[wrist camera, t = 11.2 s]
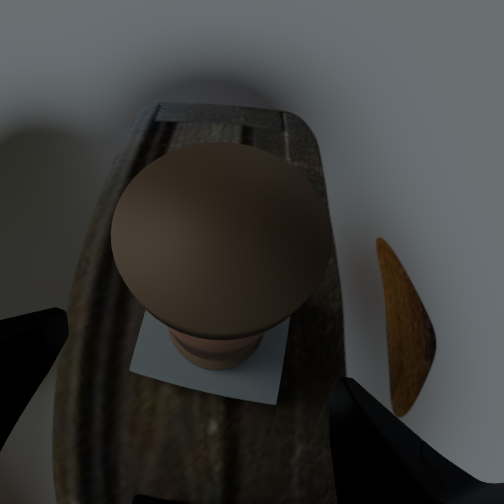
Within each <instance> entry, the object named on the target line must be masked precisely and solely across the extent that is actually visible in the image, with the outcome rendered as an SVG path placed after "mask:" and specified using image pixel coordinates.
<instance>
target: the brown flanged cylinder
mask: <svg viewBox="0 0 504 504" xmlns="http://www.w3.org/2000/svg"><path fill="white" fill-rule="evenodd" d="M111 243H112V250H113V255H114V260H115V262H116V265H117V268H118V270H119V273H120V274H121V276H122V278H123V280H124V281H125V283H126V285H127V286H128V288H129V289H130V290H131V292H132V293H133V295H134V296H135V297H136V299H137V300H138V301H139V302H140V304H141V305H142V306H143V307H144V308H145V309H146V310H147V311H148V312H149V313H150V314H151V315H152V316H153V317H155V318H156V319H157V320H159V321H160V322H162V323H163V324H165V325H166V326H167V327H168V331H169V335H170V338H171V340H172V342H173V344H174V346H175V347H176V349H177V350H178V352H179V353H180V354H181V355H182V356H183V357H184V358H185V359H186V360H188V361H189V362H190V363H192V364H194V365H196V366H198V367H200V368H203V369H207V370H227V369H231V368H233V367H236V366H238V365H240V364H242V363H243V362H245V361H246V360H247V359H248V358H249V357H250V356H251V355H252V354H253V353H254V352H255V351H256V350H257V348H258V347H259V345H260V343H261V341H262V338H263V335H264V333H265V332H266V331H267V330H270V329H272V328H273V327H275V326H277V325H278V324H280V323H282V322H283V321H284V320H286V319H287V318H288V317H289V316H291V315H292V314H293V313H294V312H295V311H296V310H297V309H298V308H299V307H300V306H301V305H302V304H303V303H304V302H305V301H306V299H307V298H308V297H309V296H310V295H311V294H312V293H313V292H314V290H315V289H316V287H317V286H318V284H319V283H320V281H321V280H322V278H323V275H324V273H325V271H326V269H327V266H328V263H329V259H330V255H331V247H332V230H331V225H330V219H329V216H328V213H327V210H326V207H325V205H324V203H323V201H322V199H321V197H320V195H319V194H318V192H317V191H316V189H315V188H314V186H313V185H312V184H311V183H310V182H309V181H308V179H307V178H306V177H305V176H304V175H303V174H302V173H300V172H299V171H298V170H297V169H296V168H294V167H293V166H292V165H290V164H289V163H288V162H286V161H284V160H283V159H281V158H279V157H278V156H275V155H273V154H271V153H269V152H267V151H264V150H261V149H258V148H255V147H251V146H247V145H243V144H236V143H225V142H213V143H202V144H195V145H191V146H187V147H183V148H180V149H178V150H175V151H172V152H170V153H168V154H166V155H164V156H162V157H160V158H158V159H157V160H155V161H153V162H152V163H150V164H149V165H148V166H147V167H145V168H144V169H143V170H142V171H141V172H140V173H139V174H138V175H137V176H136V177H134V179H133V180H132V181H131V182H130V184H129V185H128V186H127V187H126V189H125V191H124V192H123V194H122V196H121V197H120V200H119V202H118V204H117V207H116V209H115V213H114V217H113V221H112V229H111Z"/></svg>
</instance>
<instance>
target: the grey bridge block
mask: <svg viewBox="0 0 504 504" xmlns="http://www.w3.org/2000/svg"><path fill="white" fill-rule="evenodd" d="M289 322H290V316H289V317H288V318H287V319H286V320H284V321H283V322H282V323H280V324H278V325H277V326H275V327H273V328H272V329H270V330H267V331H266V332H265V333H264V335H263V338H262V341H261V343H260V345H259V347H258V348H257V350H256V351H255V352H254V353H253V354H252V355H251V356H250V357H249V358H248V359H247V360H246V361H245V362H243V363H242V364H240V365H238V366H236V367H233V368H231V369H227V370H207V369H203V368H200V367H198V366H196V365H194V364H192V363H190V362H189V361H188V360H186V359H185V358H184V357H183V356H182V355H181V354H180V353H179V352H178V350H177V349H176V347H175V346H174V344H173V342H172V340H171V338H170V335H169V331H168V327H167V326H166V325H165V324H163V323H162V322H160V321H159V320H157V319H156V318H155V317H153V316H152V315H151V314H150V313H149V312H148V311H147V310H146V312H145V315H144V319H143V322H142V325H141V329H140V332H139V336H138V339H137V343H136V347H135V350H134V354H133V358H132V362H131V366H130V370H129V371H132V372H135V373H138V374H141V375H144V376H148V377H151V378H154V379H158V380H161V381H164V382H168V383H172V384H175V385H179V386H183V387H187V388H191V389H195V390H199V391H203V392H208V393H212V394H217V395H221V396H226V397H231V398H237V399H242V400H248V401H254V402H260V403H266V404H273V405H276V402H277V396H278V391H279V385H280V379H281V373H282V367H283V361H284V355H285V348H286V342H287V335H288V329H289Z"/></svg>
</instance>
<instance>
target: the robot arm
mask: <svg viewBox="0 0 504 504" xmlns="http://www.w3.org/2000/svg"><path fill="white" fill-rule="evenodd" d="M68 335H69V328H68V319H67V313H66V311H64V310H62V309H60V308H57V307H54V308H50V309H45V310H41V311H37V312H33V313H28V314H24V315H20V316H16V317H11V318H7V319H3V320H0V451H1V449H2V447H3V446H4V444H5V442H6V440H7V438H8V436H9V435H10V433H11V431H12V429H13V428H14V426H15V424H16V422H17V421H18V419H19V417H20V416H21V414H22V412H23V411H24V409H25V408H26V406H27V404H28V403H29V401H30V399H31V398H32V396H33V395H34V393H35V392H36V390H37V389H38V387H39V386H40V384H41V382H42V381H43V380H44V378H45V377H46V375H47V374H48V372H49V370H50V369H51V367H52V365H53V363H54V361H55V360H56V358H57V356H58V354H59V352H60V350H61V349H62V347H63V345H64V343H65V342H66V340H67V338H68ZM329 428H330V446H331V454H332V461H333V469H334V477H335V485H336V494H337V503H338V504H504V483H497V484H494V483H486V482H482V481H479V480H478V479H476V478H474V477H473V476H471V475H469V474H468V473H467V472H465V471H464V470H462V469H461V468H459V467H458V466H456V465H455V464H453V463H452V462H450V461H449V460H448V459H446V458H445V457H443V456H442V455H441V454H439V453H438V452H437V451H436V450H434V449H433V448H432V447H431V446H429V445H428V444H427V443H426V442H425V441H423V440H422V439H421V438H420V437H419V436H418V435H417V434H415V433H414V432H413V431H412V430H411V429H410V428H408V427H407V426H406V425H405V424H404V423H403V422H401V421H400V420H399V419H398V418H397V417H396V416H395V415H393V414H392V413H391V412H390V411H389V410H388V409H387V408H385V407H384V406H383V405H382V404H381V403H380V402H379V401H378V400H376V399H375V398H374V397H373V396H372V395H371V394H369V392H367V391H366V390H365V389H364V388H363V387H362V386H361V385H360V384H358V383H357V382H356V381H355V380H354V379H353V378H348V377H341V378H339V379H338V381H337V383H336V385H335V387H334V389H333V391H332V392H331V394H330V397H329ZM138 498H140V499H142V501H143V502H140V501H138ZM133 504H180V503H176V502H172V501H168V500H164V499H158V500H157V499H154V498H150V497H147V496H144V495H140V494H138V495H136V496H135V497H134V498H133Z"/></svg>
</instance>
